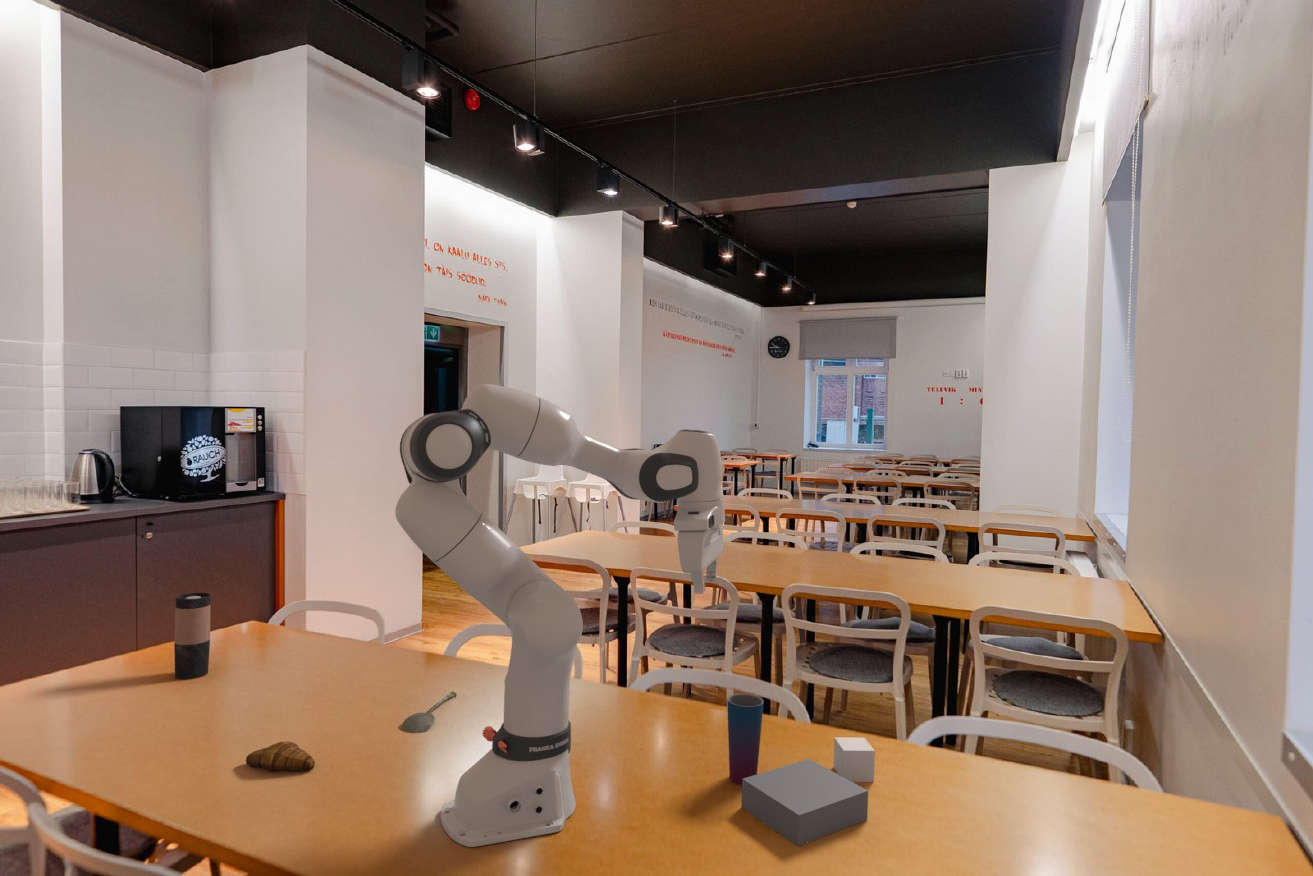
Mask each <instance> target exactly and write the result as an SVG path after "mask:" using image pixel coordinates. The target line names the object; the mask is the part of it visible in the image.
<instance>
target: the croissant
mask: <svg viewBox="0 0 1313 876" xmlns="http://www.w3.org/2000/svg"><path fill="white" fill-rule="evenodd" d="M245 762H246V765H247V766H250V767H252V768H255V769H262V770H265V771H269V772H272V773H273V772H290V773H291V772H292V773H293V772H294V773H296V772H300V773H301V772H307V771H311V770H313V769H314V768H315V765H316V762H315V759H314V758H313V757H312V756H311V754H309V753H308V752H307V751H305V750H303V749H302V748H300V747H299V745H298V744H297V743H295V742H291V741H279V742H276V743H273V744H271V745H270V746H267V747H264V748H260V749H257V750H254V751H252V752H250V753H248V754H247V756H246V759H245Z"/></svg>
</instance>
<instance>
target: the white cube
mask: <svg viewBox="0 0 1313 876" xmlns="http://www.w3.org/2000/svg"><path fill="white" fill-rule="evenodd" d="M833 739H834V740H833V741H834V742H833V743H834V744H833V769H834V770H835V771H836V772H835V773H836V774H838V775H840V776H842V777H844V778H846V779H847V780H849V781H851V782H853V783H854V782H855V783H863V782H864V783H866V782H867V783H874V782H875V758H876V757H875V755H876V750H875V749H874V748H873V747H872V745H871V744H870V742H868V740H867V739H866V738H865V737H844V736H843V737H840V736H839V737H836V736H835V737H833Z"/></svg>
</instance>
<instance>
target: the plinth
mask: <svg viewBox="0 0 1313 876" xmlns="http://www.w3.org/2000/svg"><path fill="white" fill-rule="evenodd" d="M868 804H869V790H868V789H866V788H864V787H862V786H860V785H858V784H856V782H855V783H854V782H851V781H849V780H847V779H846V778H844V777H842V776H840V775H838V773H837V772H834V771H832V770H831V769H829V768H827V767H825V766H823V765H822V764H819V762H818V763H817V762H816V761H814V760H812V759H810V758H807V759H804V760H800V761H797V762H794V763H791V764H787V765H784V766H781V767H777V768H774V769H771V770H767V771H764V772H761V773H757V775H753V776H750V777H747V778H743V779H742V785H741V805H740V806H741V809H743V808H744V809H743V810H744V811H746V810H747V811H748V812H747V811H746V812H747V813H749V814H750V815H752V816H753V815H754V816H753V817H754V818H756V819H757V818H758V819H757V820H759V819H760V820H761V821H760V820H759V821H760V822H762V823H763V824H765V825H766V826H768V827H769V828H771V829H772V830H773V831H775V832H776V833H777V834H779V833H780V834H779V835H781V836H782V837H783V838H785V839H786V838H787V840H788V841H790V842H791V843H792V844H793V845H795V846H797V847H800V846H803V844H804V845H806V844H808V843H807V842H809V843H811V842H814V841H816V839H817V840H819V839H822V838H824V837H827V836H830V835H832V834H835V833H838V832H840V831H843V830H846V829H848V828H851V827H853V826H856V825H859V824H861V823H863V822H865V821H868V811H869V810H868V808H869V805H868ZM818 838H819V839H818Z"/></svg>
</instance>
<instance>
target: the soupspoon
mask: <svg viewBox="0 0 1313 876" xmlns="http://www.w3.org/2000/svg"><path fill="white" fill-rule="evenodd" d="M453 698H457V692H455V691H451V692H450V693H449V694H447V695H446V696H445V697H444V698H442V699H440V700H439V701H438V702H437V703H435V704H434V705H433V706H431V707H430V708H429V709H428V710H427V711H426V712H418V713H417V712H416V713H413V714H411V715H410V716H408V717H406V718H405V719H404V721H403V722H402V724H401V730H402V731H403V732H405V733H409V734H411V733H412V734H420V733H422V734H423V733H426V732H427V731H428V730H429V729H431V728H432V726H433V724H434V723H435V715H433V714H432V712H433V711H434V710H435V709H436V708H437V707H439V705H442V703H443V702H445V701H446V700H450V699H453Z"/></svg>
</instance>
